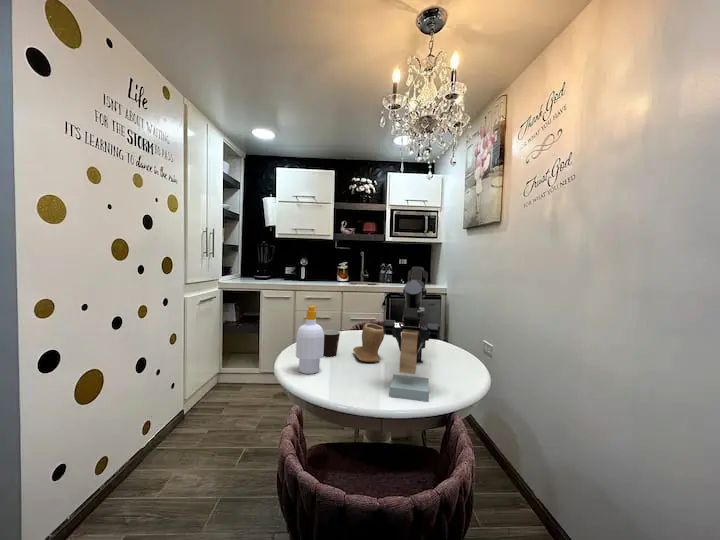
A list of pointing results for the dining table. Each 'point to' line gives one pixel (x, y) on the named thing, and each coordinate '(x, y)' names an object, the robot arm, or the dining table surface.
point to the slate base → (409, 387)
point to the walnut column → (408, 351)
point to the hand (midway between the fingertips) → (408, 351)
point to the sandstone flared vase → (370, 343)
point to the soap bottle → (310, 343)
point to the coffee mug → (331, 342)
